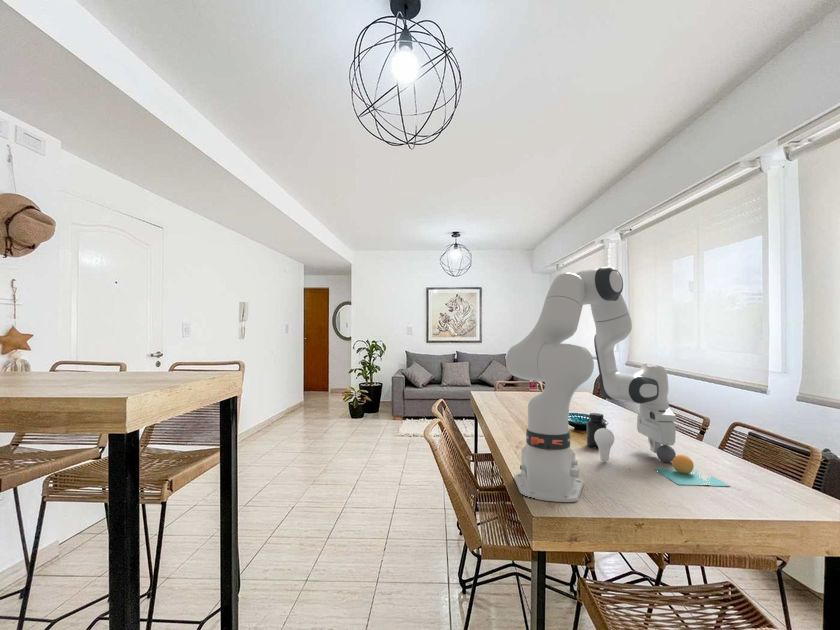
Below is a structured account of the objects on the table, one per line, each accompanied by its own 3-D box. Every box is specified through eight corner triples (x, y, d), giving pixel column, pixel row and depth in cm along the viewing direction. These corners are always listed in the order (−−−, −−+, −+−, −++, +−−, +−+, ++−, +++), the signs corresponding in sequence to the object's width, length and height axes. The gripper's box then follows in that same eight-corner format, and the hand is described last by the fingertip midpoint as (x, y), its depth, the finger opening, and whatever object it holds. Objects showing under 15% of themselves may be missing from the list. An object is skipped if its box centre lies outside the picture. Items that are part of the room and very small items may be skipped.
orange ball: (683, 462, 132) (690, 478, 128) (666, 459, 132) (672, 476, 127) (692, 452, 128) (700, 469, 124) (675, 450, 128) (682, 466, 124)
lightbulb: (609, 466, 134) (609, 431, 135) (591, 461, 139) (590, 428, 140) (618, 462, 138) (617, 428, 139) (599, 458, 143) (599, 425, 144)
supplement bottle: (585, 443, 163) (584, 412, 163) (603, 444, 162) (603, 412, 162) (589, 448, 156) (589, 415, 157) (609, 449, 155) (608, 416, 156)
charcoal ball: (664, 449, 144) (668, 465, 141) (651, 445, 143) (654, 462, 140) (677, 445, 139) (681, 461, 136) (663, 441, 138) (667, 458, 135)
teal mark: (730, 486, 117) (730, 486, 117) (678, 485, 118) (678, 484, 118) (701, 470, 131) (701, 470, 131) (654, 469, 132) (654, 468, 132)
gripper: (631, 406, 157) (632, 444, 156) (658, 416, 136) (659, 460, 136) (649, 406, 156) (650, 444, 156) (679, 417, 136) (680, 461, 135)
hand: (654, 452), depth 146 cm, fingers closed
